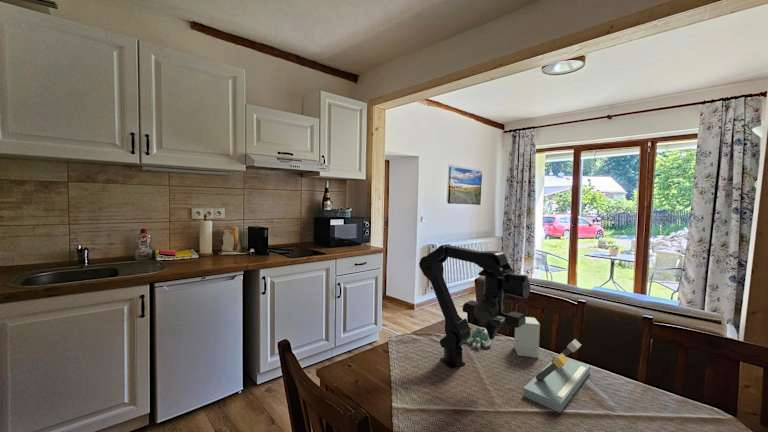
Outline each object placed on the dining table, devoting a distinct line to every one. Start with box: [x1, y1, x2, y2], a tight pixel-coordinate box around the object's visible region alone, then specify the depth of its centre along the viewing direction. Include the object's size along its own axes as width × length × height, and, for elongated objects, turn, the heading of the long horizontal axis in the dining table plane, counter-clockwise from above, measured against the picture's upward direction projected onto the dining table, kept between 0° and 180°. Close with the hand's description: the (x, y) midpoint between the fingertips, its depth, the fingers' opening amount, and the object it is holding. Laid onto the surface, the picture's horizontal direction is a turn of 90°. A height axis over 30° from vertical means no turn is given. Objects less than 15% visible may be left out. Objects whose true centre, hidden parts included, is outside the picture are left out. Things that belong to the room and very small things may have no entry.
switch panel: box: [522, 354, 591, 413], centre depth 101 cm, size 10×30×3 cm, turn 134°
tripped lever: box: [535, 352, 569, 382], centre depth 96 cm, size 2×4×11 cm
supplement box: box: [513, 316, 541, 358], centre depth 122 cm, size 7×7×13 cm
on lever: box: [551, 338, 582, 363], centre depth 106 cm, size 2×4×11 cm
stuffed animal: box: [466, 326, 493, 349], centre depth 128 cm, size 11×7×12 cm
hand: (491, 339), depth 102 cm, fingers closed
